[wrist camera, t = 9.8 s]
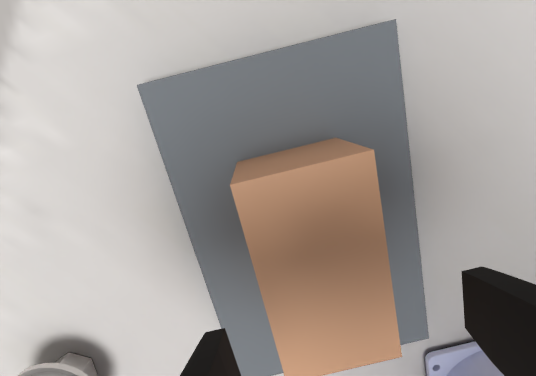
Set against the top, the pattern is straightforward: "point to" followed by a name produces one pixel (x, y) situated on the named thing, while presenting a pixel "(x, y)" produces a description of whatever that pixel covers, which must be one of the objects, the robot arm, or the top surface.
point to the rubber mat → (279, 139)
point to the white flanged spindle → (63, 367)
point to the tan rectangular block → (320, 255)
